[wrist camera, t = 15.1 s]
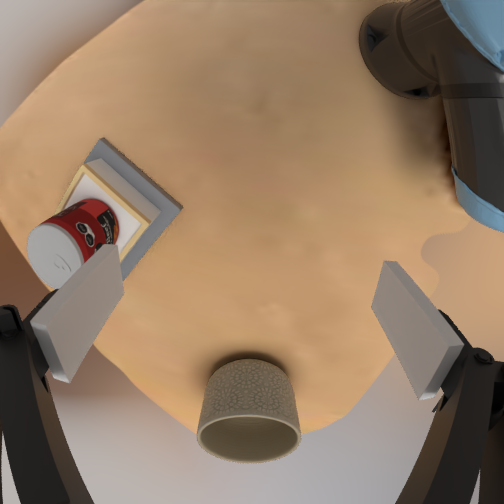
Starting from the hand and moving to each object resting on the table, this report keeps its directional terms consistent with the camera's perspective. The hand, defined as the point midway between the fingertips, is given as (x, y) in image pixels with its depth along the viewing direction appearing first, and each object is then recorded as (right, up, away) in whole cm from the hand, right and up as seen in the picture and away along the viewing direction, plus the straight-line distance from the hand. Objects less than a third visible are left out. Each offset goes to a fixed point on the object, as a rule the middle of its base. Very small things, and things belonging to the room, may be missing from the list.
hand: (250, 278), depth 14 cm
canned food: (-21, +5, +23) cm, 31 cm away
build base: (-21, +7, +28) cm, 36 cm away
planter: (0, -23, +42) cm, 48 cm away
